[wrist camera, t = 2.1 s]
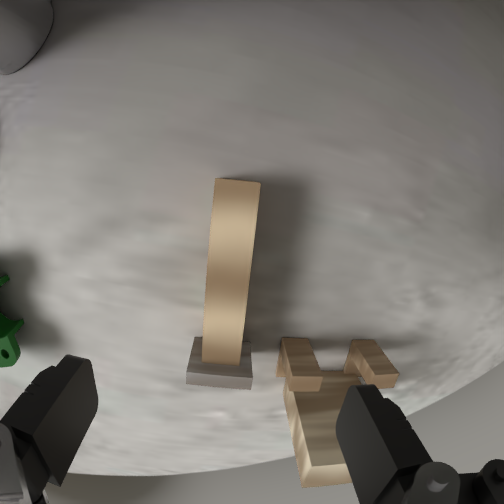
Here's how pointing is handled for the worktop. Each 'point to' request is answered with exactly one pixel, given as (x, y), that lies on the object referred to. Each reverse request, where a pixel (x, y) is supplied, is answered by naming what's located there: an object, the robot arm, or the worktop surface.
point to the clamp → (8, 336)
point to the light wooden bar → (227, 289)
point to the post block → (325, 403)
